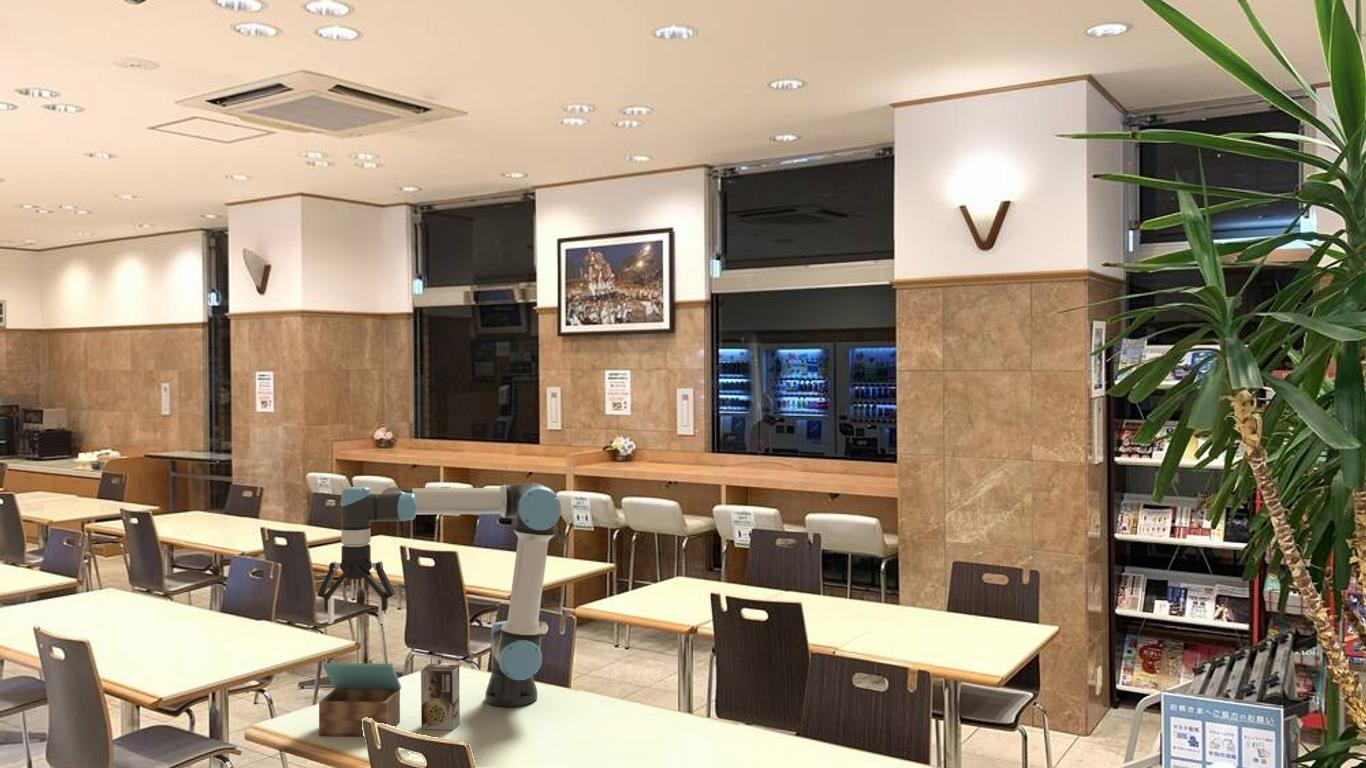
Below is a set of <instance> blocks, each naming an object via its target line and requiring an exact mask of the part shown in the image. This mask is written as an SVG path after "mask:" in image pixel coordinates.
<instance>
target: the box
mask: <svg viewBox="0 0 1366 768" xmlns="http://www.w3.org/2000/svg"><path fill="white" fill-rule="evenodd" d="M318 702H319V703H318V736H319V737H342V738H343V737H348V738H349V737H352V738H353V737H354V738H355V737H357V738H359V737H363V730H362V719H363V718H365V717H368V718H372V719H373V720H374V721H375V722H377V723H384V724H388V725H391V726H395V728H396V727H397V726H398V725H399V724H400V722H401V711H400V710H401V689H334V688H333V690H331V691H330V692H329V693H328V694H327V695H326V696H324V697H323V698H322V699H321V700H320V701H318ZM363 738H364V737H363Z"/></svg>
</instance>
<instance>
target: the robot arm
mask: <svg viewBox="0 0 1366 768" xmlns="http://www.w3.org/2000/svg"><path fill="white" fill-rule="evenodd" d="M371 491H372V490H371V488H370V487H368V486H348V487H345V488H343V490H342V491H341V504H340V505H341V506H340V509H341V510H340V511H341V515H340V516H341V517H340V518H341V539H340V540H341V544H342V546H341V562H337V561H335V560H334V561H332V562H330V563H329V565H328V572H327V574H326V576H325V578H324V579H323V582H322V584H321V586H320V587H319V589H318V592H317V593H316V596H317V597H318V598H322V599H324V605H323V606H324V611H325V612H327V625H330V624H333V623H334V622H335V597H332V596H333V594H335V592H336V591H337V590H338V589H339V587H341V585H342V584H343V583H344V581H346V579H348V580H361V579H364V580H365V582H367V583H368V585H370V587H371V588H372V589H373V590H374V592H376V594H377V595H378V596H379V597H380V598H379V599H378V604H377V605H378V610H377V611H378V617H377V618H378V625H382V624H383V623H385V612H386V611H387V610H388V609H389V608H388V607H389V605H388V604H389V603H388V601H389V598H391V597H393V596H395V594H396V593H395V590H394V588H393V586H392V584H391V582H390V580H389V578H388V576H387V574H386V572H385V570H384V565H383V561H381V560H380V561H378V562H372V560H371V559H372V558H371V555H372V553H371V548H372V546H371V544H370V543H371V523H372V522H374V523H375V522H405V521H412V520H415V519H416V516H417V515H421V516H422V515H500V516H501V517H502V518H512V519H513V518H514V526H513V532H514V533H515V534H516V536H517V546H516V552H515V559H514V560H515V561H514V568H513V576H512V583H511V584H512V585H511V589H510V590H511V591H510V599H509V606H508V614H507V620H503V621H497V622H494V623H493V624H492V626H491V632H490V634H491V675H490V678H489V680H488V683H487V687H486V690H485V697H484V699H485V702H486V703H487V704H488V705H491V706H495V707H500V708H501V707H502V708H504V707H505V708H510V707H511V708H513V707H521V706H526V705H530V704H533V703H534V702H536V701H537V700H538V689H537V685H536V682H535V680H534V675H535V674H537V672H538V671H539V669H540V668H541V666H542V661H543V656H542V655H543V653H542V650H541V645H542V637H543V629H542V628H541V627H540V625H539V620H540V619H539V618H540V612H541V611H540V609H541V602H542V595H543V588H544V587H543V586H544V578H545V572H546V570H545V569H546V564H547V555H548V547H549V541H550V540H551V539H553V538H554V537H555V535H556V528H557V522H558V521H559V519H560V516H561V513H562V506H561V501H560V498H559V496H558V494H556V492H555V491H554V490H553V489H551V488H550V487H547V486H546V485H544V484H542V483H538V482H523V483H513V484H512V483H511V484H502V485H501V486H500V487H462V488H461V487H460V488H459V487H454V488H453V487H447V488H445V487H443V488H442V487H440V488H439V487H438V488H434V487H432V488H431V487H428V488H427V487H426V488H422V487H420V488H414V487H413V488H399V487H397V486H394V487H393V486H392V487H388V488H386V489H384V490H383V491H382V492H381V493H372V492H371ZM372 568H373V570H374V571H375V572H376V574H377V577H378V578H379V581H380V583H381V584H382V585H381V584H380V583H379V582H378V581H377V579H376V578H375V577H374V576H373V574H372V572H371V569H372ZM339 569H340V571H341V572H342V573H341V575H340V576H339V577H338V579H337V580H336V581H335V583H333V585H332V586H331V587H330V588H329V586H330V583H331V582H332V579H333V577H334V576H335V573H336V571H338V570H339ZM328 588H329V590H328ZM327 590H328V591H327ZM536 699H537V700H536ZM535 700H536V701H535ZM532 702H533V703H532ZM529 703H530V704H529Z"/></svg>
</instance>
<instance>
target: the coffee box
mask: <svg viewBox="0 0 1366 768" xmlns="http://www.w3.org/2000/svg"><path fill="white" fill-rule="evenodd" d="M420 693H421V695H420V697H421V698H420V699H421V704H420V705H421V706H420V707H421V710H420V713H421V714H420V715H421V720H420V721H421V728H420V729H421V730H438V731H439V730H441V731H442V730H444V731H445V730H446V731H454V729H456V728H457V726H459V725H460V722H461V721H460V719H461V717H460V716H461V715H460V714H461V713H460V709H461V708H460V703H461V702H460V664H442V663H441V664H432V663H431V664H427V665H426V666H424V667H423V668H422V670H420Z"/></svg>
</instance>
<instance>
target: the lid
mask: <svg viewBox="0 0 1366 768" xmlns="http://www.w3.org/2000/svg"><path fill="white" fill-rule="evenodd" d="M322 668H323V669H324V671H325V673H326V675H327V676H328V679H329V681H330V683H331V685H332V687H333V690H334V689H400V690H401V688H402V686H401V683H400V680H399V677H398V675H397V672H396V670H395V668H394V666H393V664H392V663H365V662H364V663H363V662H362V663H360V662H358V663H349V662H348V663H347V662H344V663H343V662H340V663H339V662H329V663H327V662H324V663H323V664H322Z"/></svg>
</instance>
